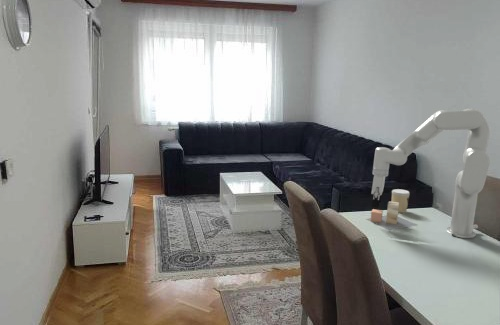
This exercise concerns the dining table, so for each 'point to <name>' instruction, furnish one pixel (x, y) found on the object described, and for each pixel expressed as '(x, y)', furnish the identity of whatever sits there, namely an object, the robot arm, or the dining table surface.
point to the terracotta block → (376, 215)
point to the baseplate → (400, 224)
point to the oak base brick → (391, 218)
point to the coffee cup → (401, 199)
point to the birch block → (393, 208)
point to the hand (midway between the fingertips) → (376, 204)
